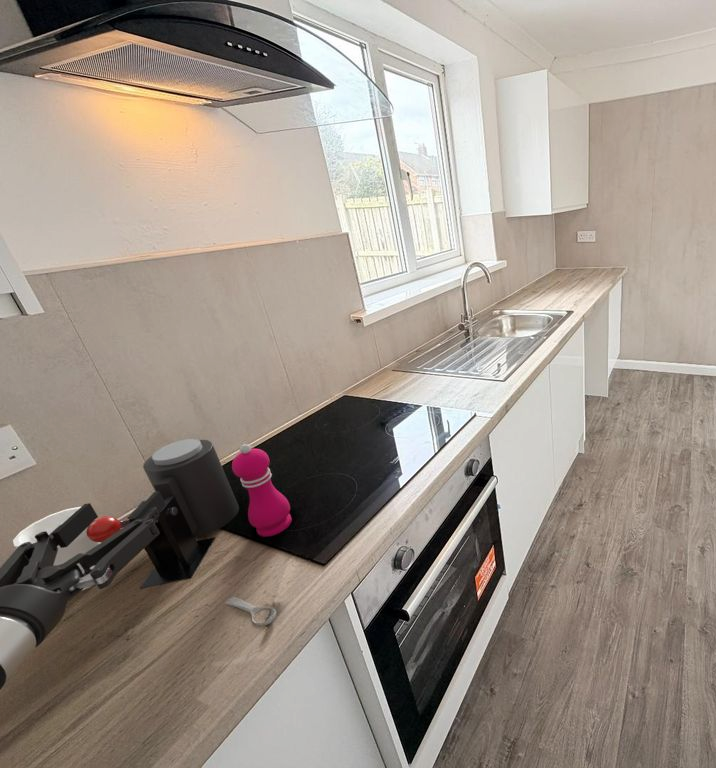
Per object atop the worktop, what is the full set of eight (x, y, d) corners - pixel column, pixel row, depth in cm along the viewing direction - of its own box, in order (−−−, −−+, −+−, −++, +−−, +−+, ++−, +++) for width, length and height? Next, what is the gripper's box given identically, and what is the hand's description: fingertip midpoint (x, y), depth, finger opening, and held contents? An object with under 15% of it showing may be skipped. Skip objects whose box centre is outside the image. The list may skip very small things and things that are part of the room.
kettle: (224, 543, 81) (188, 465, 74) (161, 555, 79) (118, 477, 72) (252, 493, 95) (225, 424, 88) (200, 502, 93) (167, 432, 86)
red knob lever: (109, 542, 59) (107, 516, 59) (80, 547, 58) (78, 522, 59) (173, 521, 73) (171, 500, 73) (150, 525, 72) (148, 504, 73)
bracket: (193, 582, 72) (161, 521, 67) (142, 593, 71) (105, 531, 65) (217, 541, 81) (191, 484, 76) (172, 550, 80) (142, 492, 74)
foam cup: (68, 573, 76) (31, 518, 71) (131, 553, 80) (100, 500, 75) (43, 614, 68) (-1, 555, 63) (114, 590, 72) (78, 532, 67)
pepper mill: (260, 522, 86) (227, 439, 78) (298, 513, 88) (269, 431, 80) (251, 546, 79) (214, 459, 71) (292, 536, 81) (260, 450, 73)
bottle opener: (266, 632, 62) (261, 623, 62) (217, 612, 67) (212, 603, 67) (283, 615, 65) (278, 606, 64) (235, 597, 70) (230, 588, 69)
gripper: (-103, 685, 45) (58, 537, 65) (124, 634, 48) (209, 509, 69) (-152, 638, 42) (33, 498, 62) (94, 588, 45) (192, 472, 66)
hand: (126, 504), depth 65 cm, fingers open, 9 cm apart
